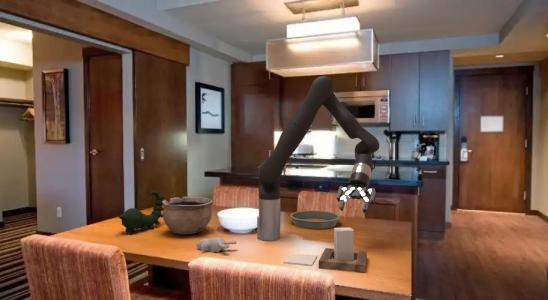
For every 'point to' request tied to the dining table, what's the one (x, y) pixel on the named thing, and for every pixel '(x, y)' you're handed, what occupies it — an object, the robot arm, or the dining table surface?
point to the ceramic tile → (300, 259)
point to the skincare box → (344, 244)
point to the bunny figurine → (214, 244)
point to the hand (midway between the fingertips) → (352, 210)
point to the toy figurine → (143, 216)
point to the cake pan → (303, 218)
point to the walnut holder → (343, 261)
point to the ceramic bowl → (187, 214)
